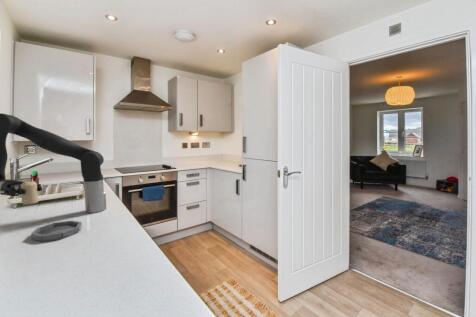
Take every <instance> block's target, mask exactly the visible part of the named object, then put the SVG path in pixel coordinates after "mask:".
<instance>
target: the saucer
mask: <svg viewBox="0 0 476 317" xmlns="http://www.w3.org/2000/svg"><path fill="white" fill-rule="evenodd" d="M82 226H83V225H82V221H76V220H65V221H56V222H51V223H48V224H46V225H42V226H39V227H36V228H35V230H34V231H32V232H31V234H30V235H31V238H32V239H33V240H34V241H35V242H52V241H57V240H58V241H59V240H62V239H66V238H69V237H72V236H74V235H76V234H79V232H81V230H82V228H81V227H82Z"/></svg>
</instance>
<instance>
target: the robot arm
mask: <svg viewBox="0 0 476 317" xmlns="http://www.w3.org/2000/svg"><path fill="white" fill-rule="evenodd" d="M8 134H11V135H14V136H19V137H22V138H24V139H27V140H28V141H30V142H31V143H33V145H36V146H37V147H39V148H41V149H43V150H46V151H48V152H51V153H54V154H56V155H60V156H65V157H68V158H69V157H70V158H73V159H75V160H78V161H80V171H81V176H82V179H83V189H84V191H83V192H84V204H85V205H84V208H85V213H87V214H94V213H99V212H103V211H105V210H107V194H106V191H105V188H104V175H103V174H102V168H101V166H102V165H103V163H104V156H103V154H101V152H98V151H95V150H92V149H89V148H86V147H83V146H81V145H78V144H77V143H75V142H73V141H70V140H68V139H66V138H65V137H63V136H59V135H58V134H57V133H53V132H51V131H48V130H45V129H42V128H38V127H36V126H34V125H31V124H29V123H28V122H26V121H24V120H22V119H20V118H18V117H17V116H14V115H11V114H7V113H0V196H1V195H2V196H9V197H19V196H21V194H26V192H25V189H21V186H20V185H21V184H22V183H24V182H25V181H22V180H21V179H20V180H18V179H6V168H7V163H8V150H7V145H6V144H7V143H6V142H7V137H8ZM42 190H43V187H42V184H41V183H37V191H38V192H42Z"/></svg>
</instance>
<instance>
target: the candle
mask: <svg viewBox="0 0 476 317" xmlns="http://www.w3.org/2000/svg"><path fill="white" fill-rule="evenodd" d="M23 182H24V183H22V184H21V185H20V186H21V189H25V192H26V194H21V195H20V196H21V204H22V205H33V204H37V203H39V191H37V184H38V182H35V181H34V180H29V181H27V180H26V181H23Z"/></svg>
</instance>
